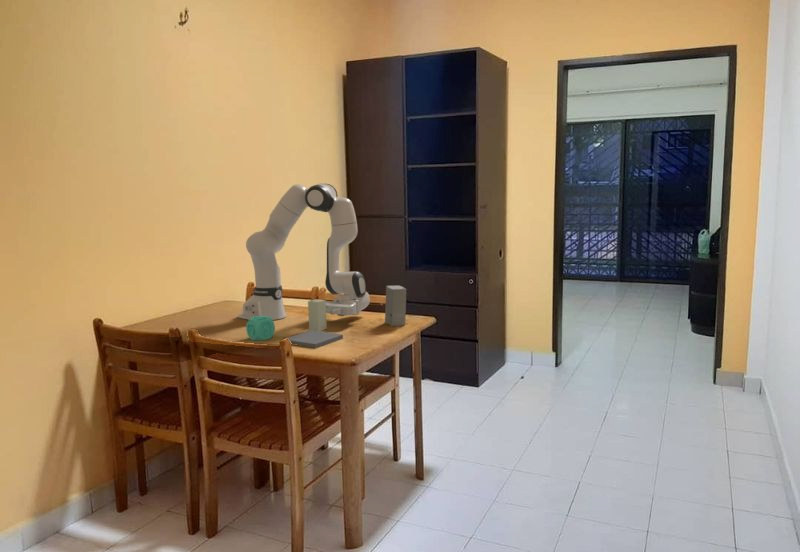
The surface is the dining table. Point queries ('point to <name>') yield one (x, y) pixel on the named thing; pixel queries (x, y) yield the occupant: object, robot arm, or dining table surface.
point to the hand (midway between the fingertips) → (322, 311)
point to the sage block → (317, 315)
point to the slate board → (314, 338)
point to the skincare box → (395, 305)
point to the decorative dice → (260, 328)
